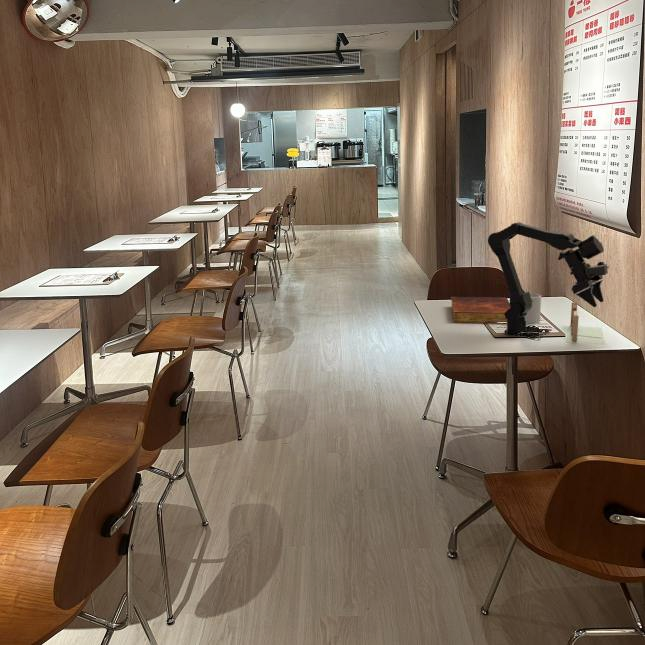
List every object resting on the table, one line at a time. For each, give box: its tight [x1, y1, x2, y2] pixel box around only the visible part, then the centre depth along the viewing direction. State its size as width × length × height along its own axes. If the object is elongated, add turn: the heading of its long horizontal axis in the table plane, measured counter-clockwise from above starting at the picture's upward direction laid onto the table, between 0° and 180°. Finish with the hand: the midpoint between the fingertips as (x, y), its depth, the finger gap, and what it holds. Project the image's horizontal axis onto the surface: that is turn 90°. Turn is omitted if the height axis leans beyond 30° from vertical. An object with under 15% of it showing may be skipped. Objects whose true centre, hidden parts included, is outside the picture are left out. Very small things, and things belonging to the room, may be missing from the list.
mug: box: [524, 292, 542, 325], centre depth 322 cm, size 12×8×11 cm
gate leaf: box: [572, 311, 580, 341], centre depth 293 cm, size 2×9×9 cm, turn 164°
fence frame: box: [569, 301, 578, 335], centre depth 305 cm, size 2×16×10 cm, turn 164°
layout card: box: [564, 325, 606, 345], centre depth 300 cm, size 14×25×1 cm, turn 164°
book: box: [450, 296, 511, 324], centre depth 334 cm, size 30×24×5 cm
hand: (599, 304), depth 284 cm, fingers open, 9 cm apart
